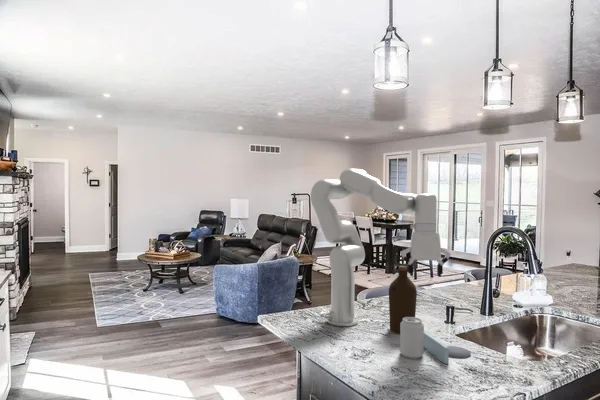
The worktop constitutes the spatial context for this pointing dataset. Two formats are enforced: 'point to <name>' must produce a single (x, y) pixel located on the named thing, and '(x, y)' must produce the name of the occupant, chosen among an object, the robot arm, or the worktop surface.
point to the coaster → (458, 352)
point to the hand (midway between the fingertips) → (425, 275)
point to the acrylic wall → (436, 347)
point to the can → (412, 337)
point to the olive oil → (401, 299)
